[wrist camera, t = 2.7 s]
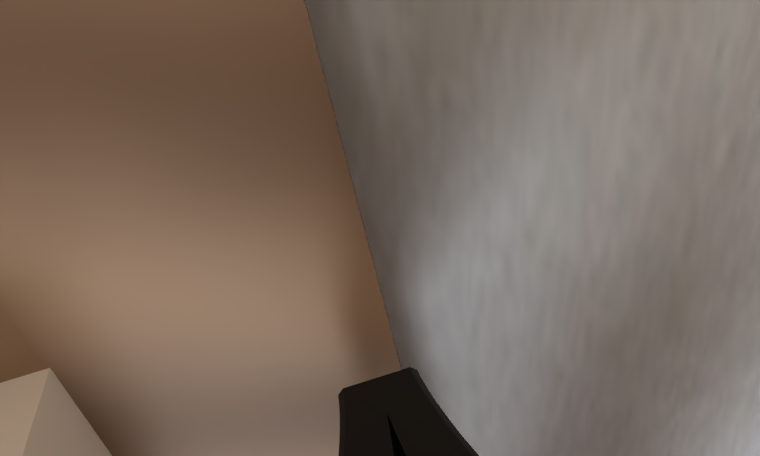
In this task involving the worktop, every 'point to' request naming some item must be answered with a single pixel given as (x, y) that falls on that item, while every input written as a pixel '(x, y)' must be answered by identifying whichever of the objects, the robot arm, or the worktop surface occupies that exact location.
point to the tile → (44, 420)
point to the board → (182, 225)
